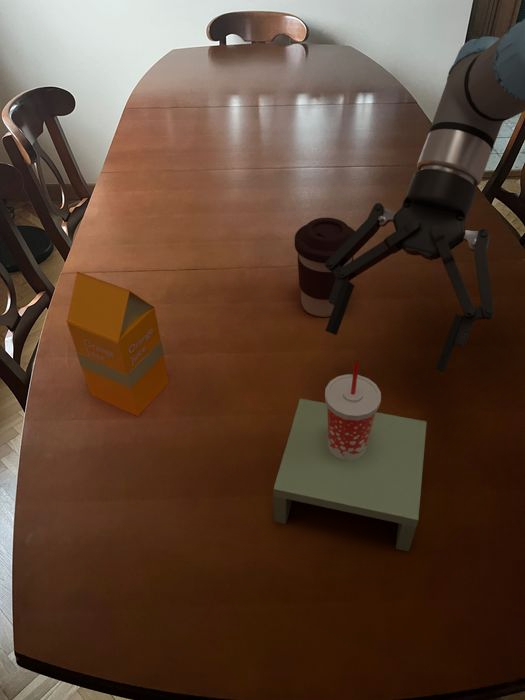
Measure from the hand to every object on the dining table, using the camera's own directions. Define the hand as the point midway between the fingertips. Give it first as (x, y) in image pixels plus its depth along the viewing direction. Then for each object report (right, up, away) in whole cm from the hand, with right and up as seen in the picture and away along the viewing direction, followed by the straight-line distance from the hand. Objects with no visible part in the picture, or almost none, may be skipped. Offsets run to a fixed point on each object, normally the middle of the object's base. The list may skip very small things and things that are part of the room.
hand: (383, 351), depth 70 cm
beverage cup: (-4, -11, +1) cm, 12 cm away
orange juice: (-34, -6, +18) cm, 39 cm away
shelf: (-3, -17, +5) cm, 18 cm away
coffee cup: (-4, +8, +31) cm, 32 cm away
